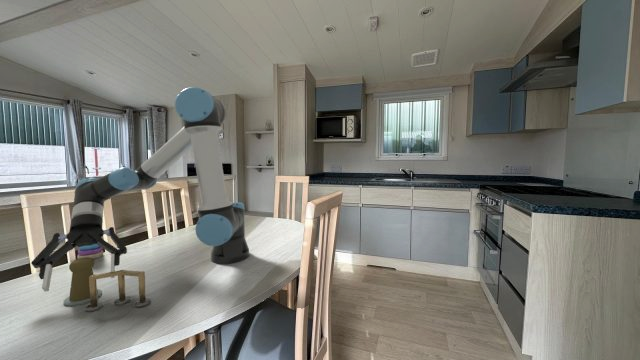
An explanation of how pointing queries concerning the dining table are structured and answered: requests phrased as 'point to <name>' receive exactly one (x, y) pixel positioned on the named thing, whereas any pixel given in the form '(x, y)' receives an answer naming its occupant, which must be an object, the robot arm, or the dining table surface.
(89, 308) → the rail
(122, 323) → the dining table surface
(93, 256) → the stacking toy
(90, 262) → the cork
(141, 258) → the dining table surface
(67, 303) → the coaster
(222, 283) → the dining table surface
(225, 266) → the dining table surface
